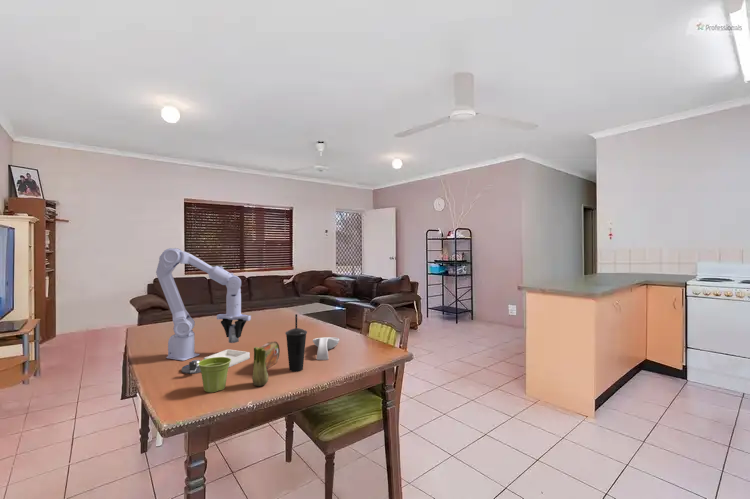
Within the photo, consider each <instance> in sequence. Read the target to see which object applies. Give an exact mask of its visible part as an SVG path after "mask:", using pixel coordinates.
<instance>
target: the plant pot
mask: <svg viewBox="0 0 750 499" xmlns="http://www.w3.org/2000/svg"><path fill="white" fill-rule="evenodd" d="M230 362H231V359H230V358H227V357H213V358H208V359H204V360H203V359H202V360H200V362H198V365H199V366H200V370H201V372H200V373H201V380H202V384H203V391H205V393H215V392H218V391H224V389H225V388H226V384H227V378H228V372H229V368H230V367H229V364H230ZM228 367H229V368H228Z"/></svg>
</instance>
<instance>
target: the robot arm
mask: <svg viewBox="0 0 750 499" xmlns="http://www.w3.org/2000/svg"><path fill="white" fill-rule="evenodd" d="M158 259H159V260H158V264H157V267H156V271H155V273H156V276H157V279H158V282H159V284H160V287H161V290H162V291H163V295H164V297H165V299H166V302H167V304H168V307H169V311H170V312H171V315H172V322H173V332H174V334H172V335H171V336H170V337H169V339H168V342H167V356H166V358H165V359H171V360H174V361H175V360H176V361H186V360H190V359H193V358H196V357H198V356H200V354H201V353H196V352H195V331H193V328H195V325H196V324H195V319H193V318H192V317H191V315H190V313H189V312H188V311H187V309H186V307H185V305H184V302H183V300H182V296H181V295H180V291H179V289H178V285H177V284H176V282H175V279H174V276H173V272H174V270H175V269H176V268H177V266H178V265H179V264H183V265H185V264H186V265H188V264H189V265H191V266H192V267H194V268H197V269H198V270H200V271H203V272H205V273H207V275H208V278H209V279H211V280H213V281H215V282H216V283H218V284H219V285H222V286H225V287H226V298H225V299H226V300H225V301H226V305H225V306H226V309H225V310H226V312H225V313H219V314H216V320H221V321H220V324H221V325H222V327H223V329H224V332H225V336H226V338H229V325H231V324H233V321H234V324H235V325H236V337H237V338H239V339H240V338H241V337H242V333H243V329H244V327H245V325H246V323H247V322H249V321H251V320H252V315H247V314H242V293H241V292H242V289H241V287H242V279H241V278H240V277H239V276H238V275H234V272H229V271H227V270H226V269H224V266H221V265H220V266H218V265H216V266H215V265H214V266H212V265H210V264H208V263H206V261H204V260H202V259H201V258H198V257H197V256H195V255H193V254H191V253H189V252H187V251H185V250H181V249H180V248H176V247H174V248H173V247H172V248H171V247H170V248H167V249H165V250H163V252H162V253H161V254H160V255H159V257H158Z"/></svg>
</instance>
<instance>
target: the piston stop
mask: <svg viewBox="0 0 750 499" xmlns="http://www.w3.org/2000/svg"><path fill="white" fill-rule="evenodd" d="M239 339H240V337H239V338H237V337H236V325H235V323H232V324H231V325H229V337H228V343H230V344H235V343H238V342H239V341H240V340H239Z"/></svg>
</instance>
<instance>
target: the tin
mask: <svg viewBox="0 0 750 499" xmlns="http://www.w3.org/2000/svg"><path fill="white" fill-rule="evenodd" d="M262 347H263V349H265V351H266V352H265V364H266V370H268V369H270V368H271V367H272V366H274V365H276V364H277V362H278V361H279V359H280V355H281V354H280V345H279V343H278V342H277V341H268V342H266V343H265V344H263V345H261V346H260V347H258V348H262Z"/></svg>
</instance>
